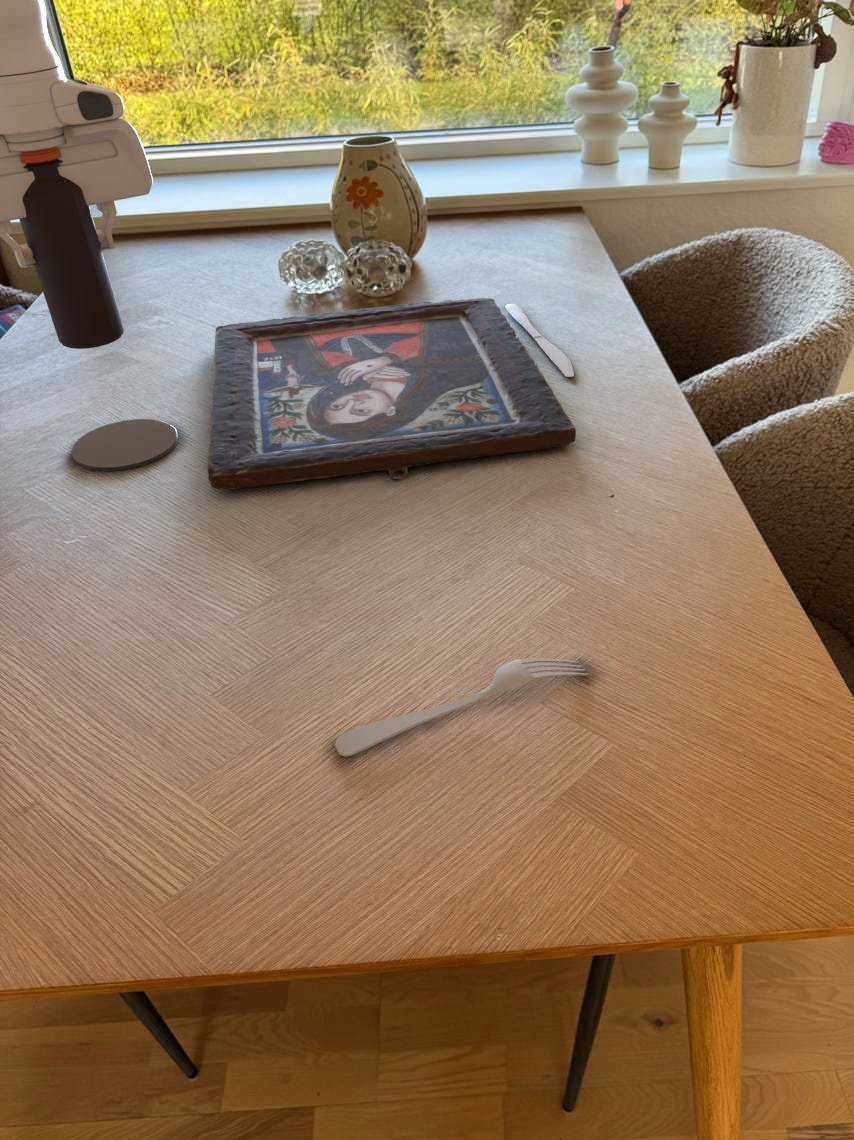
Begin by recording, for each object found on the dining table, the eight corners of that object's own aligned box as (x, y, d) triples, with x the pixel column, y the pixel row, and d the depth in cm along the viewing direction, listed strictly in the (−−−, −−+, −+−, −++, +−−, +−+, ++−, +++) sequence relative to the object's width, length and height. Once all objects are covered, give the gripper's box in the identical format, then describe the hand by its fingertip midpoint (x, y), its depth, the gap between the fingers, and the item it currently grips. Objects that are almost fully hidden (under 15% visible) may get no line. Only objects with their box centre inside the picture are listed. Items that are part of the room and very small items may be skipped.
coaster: (89, 482, 105) (87, 478, 105) (60, 441, 113) (59, 438, 113) (193, 450, 110) (192, 446, 110) (159, 413, 118) (157, 410, 118)
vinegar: (48, 340, 103) (-20, 135, 91) (105, 322, 107) (47, 122, 95) (78, 355, 100) (11, 143, 87) (136, 336, 103) (80, 130, 91)
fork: (339, 759, 74) (330, 735, 72) (575, 658, 79) (572, 633, 77) (350, 783, 72) (341, 759, 70) (592, 679, 77) (589, 653, 75)
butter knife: (522, 301, 141) (502, 302, 140) (584, 375, 121) (561, 377, 120) (521, 305, 141) (502, 306, 141) (583, 379, 121) (561, 381, 121)
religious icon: (211, 506, 100) (205, 481, 98) (214, 345, 134) (209, 324, 132) (581, 455, 105) (581, 430, 103) (493, 313, 140) (492, 292, 138)
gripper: (-93, 127, 83) (-33, 287, 92) (137, 93, 91) (172, 243, 100) (-104, 116, 87) (-45, 271, 96) (117, 85, 95) (153, 230, 104)
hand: (67, 256), depth 98 cm, fingers closed on vinegar, 6 cm apart
